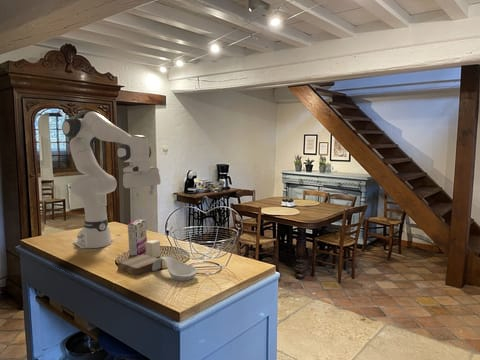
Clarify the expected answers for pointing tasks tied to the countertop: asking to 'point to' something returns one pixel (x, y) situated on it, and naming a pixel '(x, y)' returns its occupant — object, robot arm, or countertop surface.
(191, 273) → the spoon rest
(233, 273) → the countertop surface
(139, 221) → the candy bar box
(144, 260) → the walnut block
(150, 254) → the cream box
